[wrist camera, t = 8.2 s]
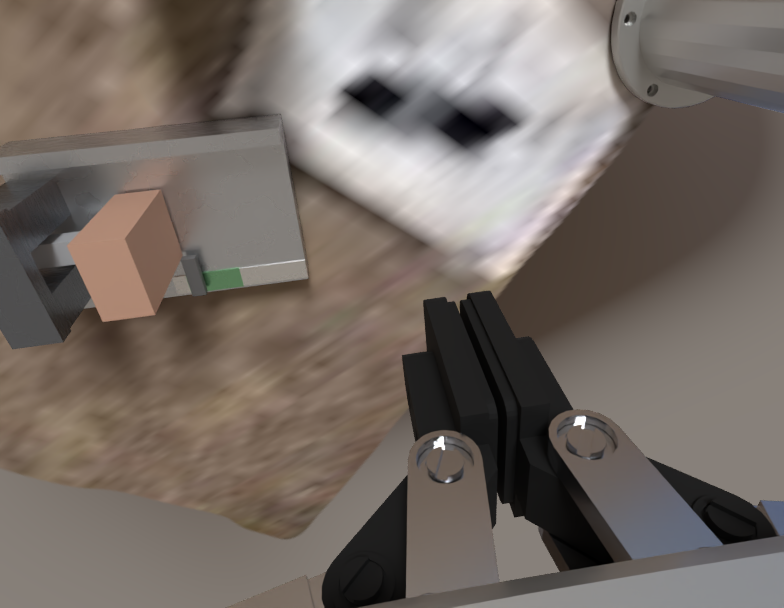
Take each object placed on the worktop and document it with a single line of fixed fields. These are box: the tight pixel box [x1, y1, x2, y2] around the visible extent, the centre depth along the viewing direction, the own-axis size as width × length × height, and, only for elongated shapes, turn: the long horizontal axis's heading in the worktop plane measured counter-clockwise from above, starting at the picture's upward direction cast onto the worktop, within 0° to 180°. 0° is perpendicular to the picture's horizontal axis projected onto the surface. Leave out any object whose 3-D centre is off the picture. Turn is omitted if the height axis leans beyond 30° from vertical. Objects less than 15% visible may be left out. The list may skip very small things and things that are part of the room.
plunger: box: [30, 189, 208, 322], centre depth 31 cm, size 15×8×8 cm, turn 94°
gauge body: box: [0, 114, 308, 349], centre depth 33 cm, size 18×12×10 cm, turn 94°
